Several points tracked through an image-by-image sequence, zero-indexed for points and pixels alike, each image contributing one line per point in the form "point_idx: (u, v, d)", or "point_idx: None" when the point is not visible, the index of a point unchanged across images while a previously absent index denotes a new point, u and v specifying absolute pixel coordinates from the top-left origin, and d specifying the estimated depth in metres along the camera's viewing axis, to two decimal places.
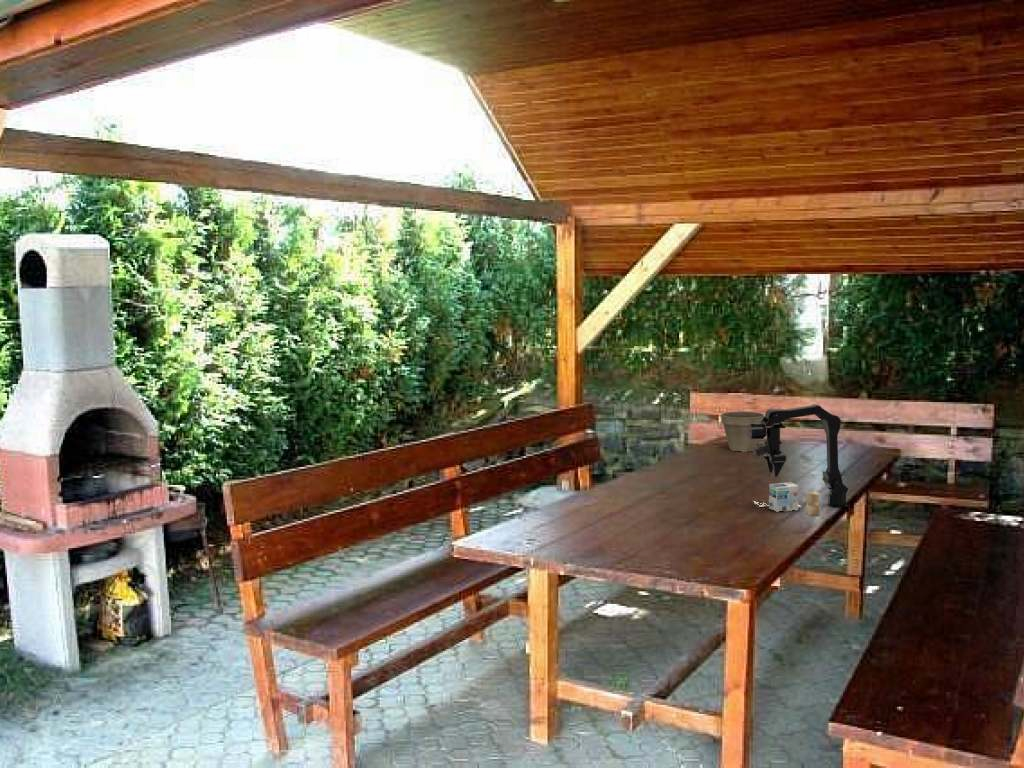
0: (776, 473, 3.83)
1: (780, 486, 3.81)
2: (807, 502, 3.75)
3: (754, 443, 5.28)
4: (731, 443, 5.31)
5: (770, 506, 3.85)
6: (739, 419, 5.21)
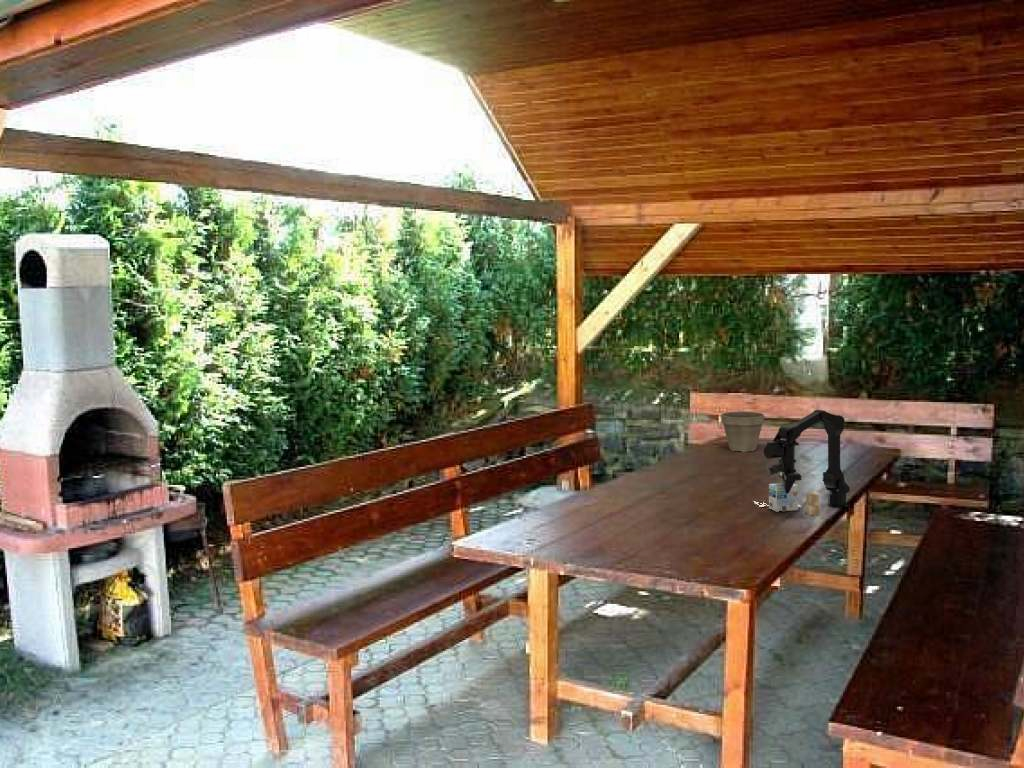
0: (787, 490, 3.77)
1: (779, 486, 3.81)
2: (807, 502, 3.75)
3: (754, 443, 5.28)
4: (731, 443, 5.31)
5: (770, 506, 3.85)
6: (739, 419, 5.21)
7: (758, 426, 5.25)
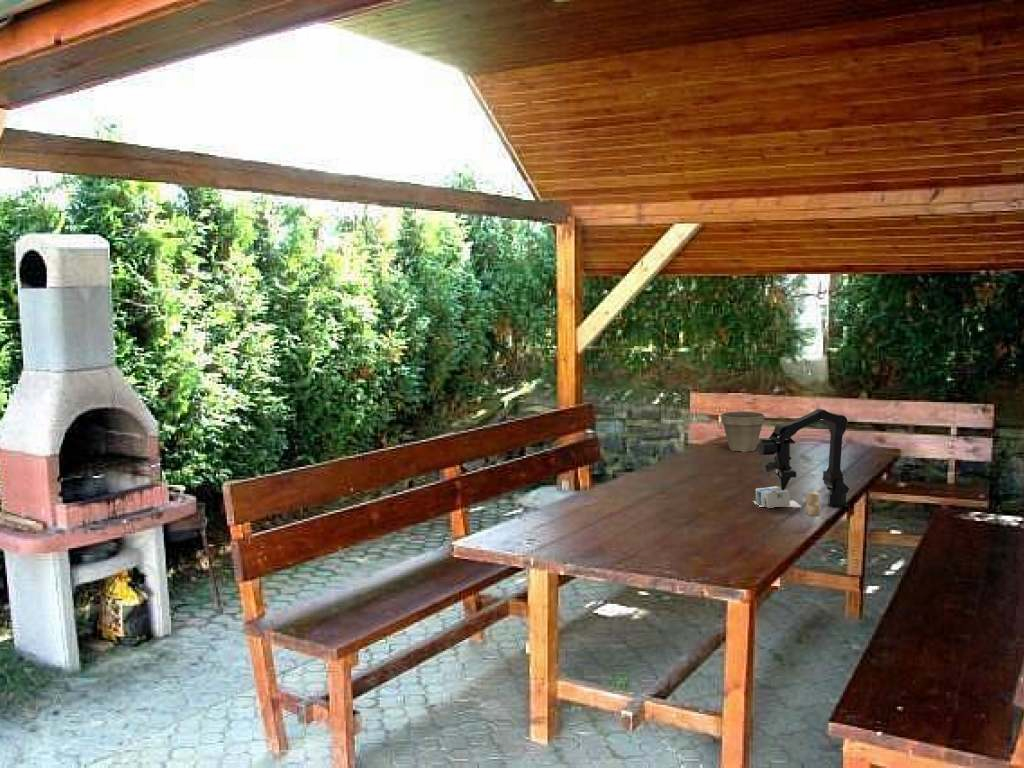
0: (782, 487, 3.84)
1: None
2: (807, 502, 3.75)
3: (754, 443, 5.28)
4: (731, 443, 5.31)
5: (766, 504, 3.87)
6: (739, 419, 5.21)
7: (758, 426, 5.25)
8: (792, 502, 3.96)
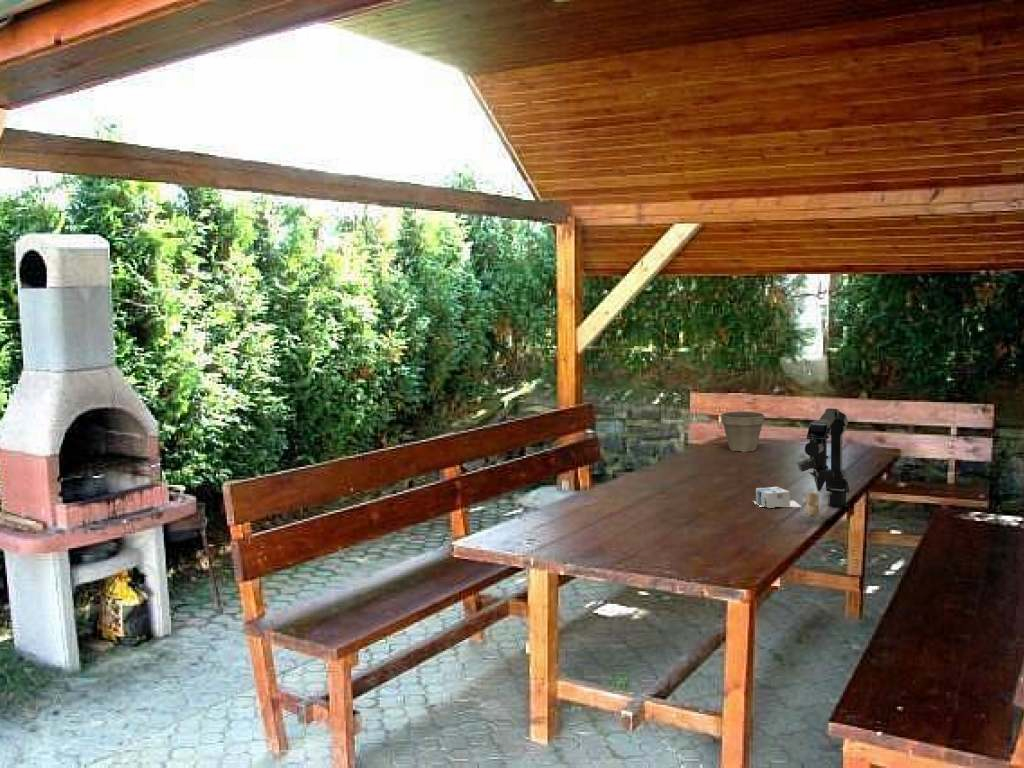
0: (819, 487, 3.65)
1: None
2: (807, 502, 3.75)
3: (754, 443, 5.28)
4: (731, 443, 5.31)
5: (766, 504, 3.87)
6: (739, 419, 5.21)
7: (758, 426, 5.25)
8: (792, 502, 3.96)
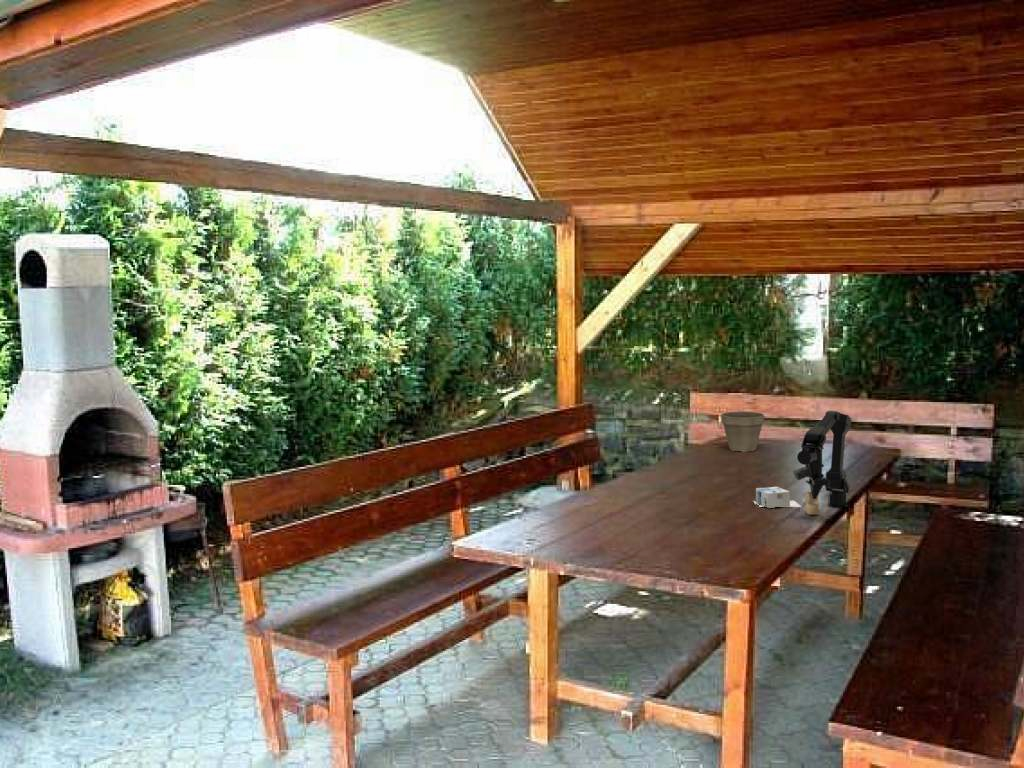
0: (814, 495, 3.72)
1: None
2: (807, 501, 3.76)
3: (754, 443, 5.28)
4: (731, 443, 5.31)
5: (766, 504, 3.87)
6: (739, 419, 5.21)
7: (758, 426, 5.25)
8: (792, 502, 3.96)
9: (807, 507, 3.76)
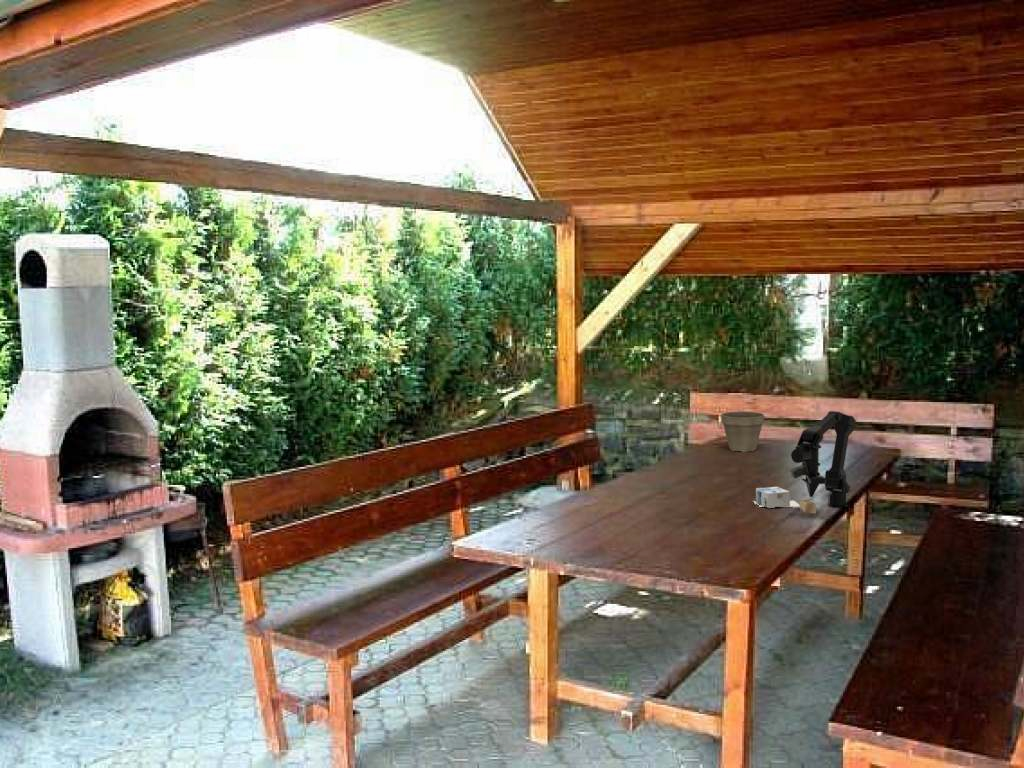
0: (811, 493, 3.76)
1: None
2: (802, 507, 3.83)
3: (754, 443, 5.28)
4: (731, 443, 5.31)
5: (766, 504, 3.87)
6: (739, 419, 5.21)
7: (758, 426, 5.25)
8: (792, 502, 3.96)
9: (804, 507, 3.80)
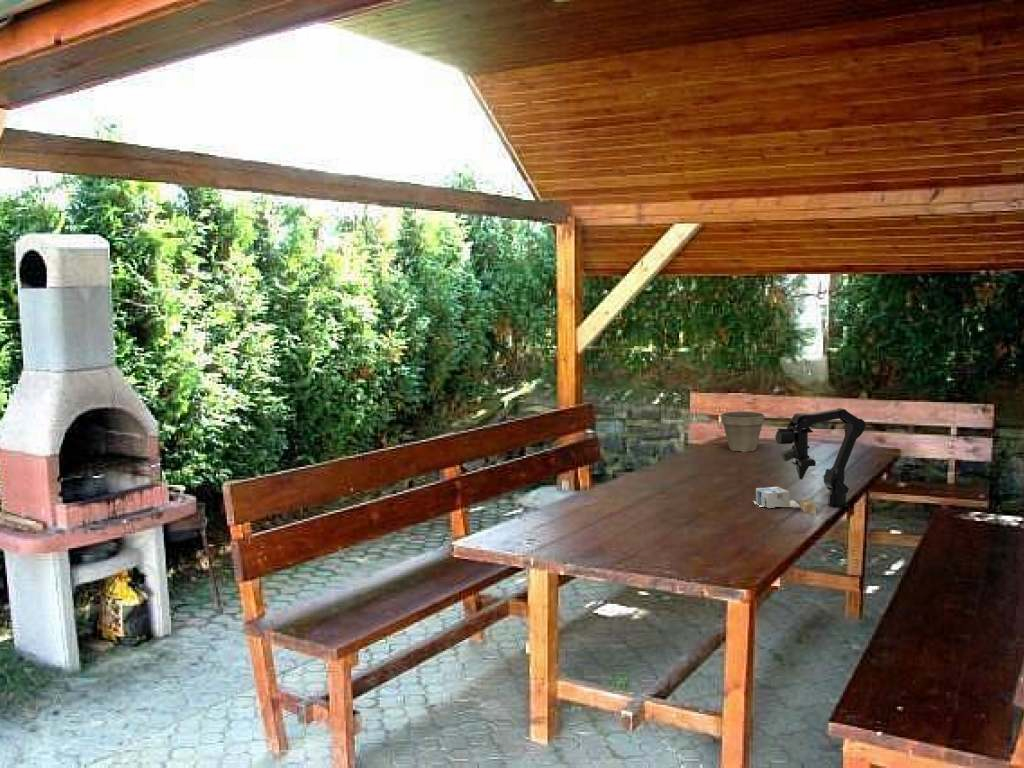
0: (800, 476, 3.86)
1: None
2: (802, 507, 3.82)
3: (754, 443, 5.28)
4: (731, 443, 5.31)
5: (766, 504, 3.87)
6: (739, 419, 5.21)
7: (758, 426, 5.25)
8: (792, 502, 3.96)
9: (804, 507, 3.80)
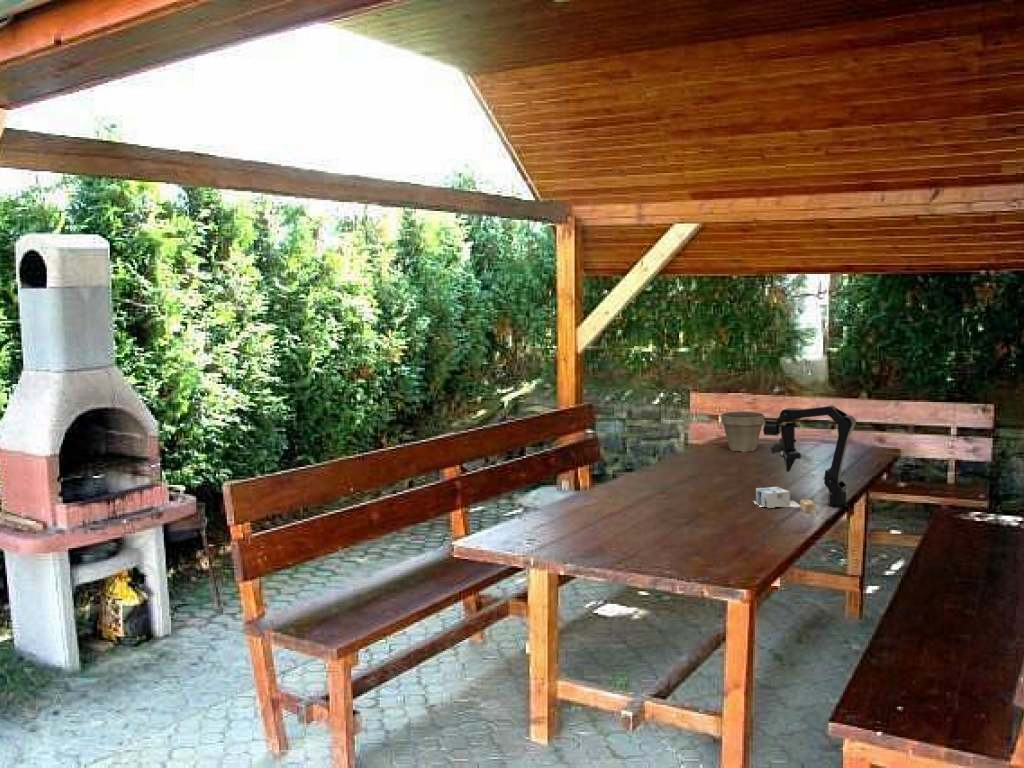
0: (787, 468, 4.00)
1: None
2: (802, 507, 3.83)
3: (754, 443, 5.28)
4: (731, 443, 5.31)
5: (766, 504, 3.87)
6: (739, 419, 5.21)
7: (758, 426, 5.25)
8: (792, 502, 3.96)
9: (804, 507, 3.80)
